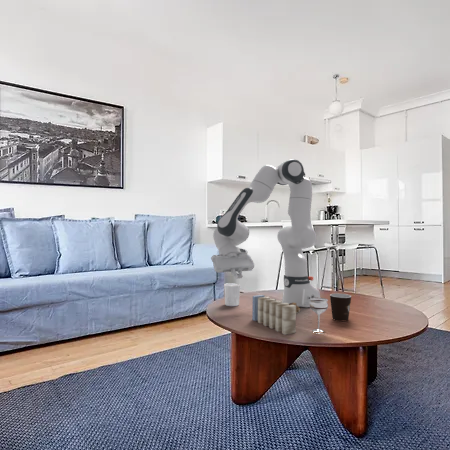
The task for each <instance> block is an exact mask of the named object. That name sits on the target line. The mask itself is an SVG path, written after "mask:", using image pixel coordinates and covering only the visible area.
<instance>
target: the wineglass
mask: <svg viewBox="0 0 450 450" xmlns="http://www.w3.org/2000/svg"><path fill="white" fill-rule="evenodd" d="M310 300H311V301H310V307H309V308H310V310H311V311H312V312H314V313H315V314H316V315H317V328H316V329H311V332H312V331H313V332H312V333H314V332H324V331H325V330H324V331H323V329H322V328H321V329H320V317H321V314H323V313H325V312H326V311H327V310H328V308H329V303H328V301H329V299H327V298H324V297H320V298H318V297H315V298H310Z"/></svg>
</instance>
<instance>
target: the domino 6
mask: <svg viewBox="0 0 450 450" xmlns="http://www.w3.org/2000/svg"><path fill="white" fill-rule="evenodd" d="M296 317H297V313H296V306H295V305H287V306H282V331H281V334H283V335H291V334H296V326H297V325H296V323H297V322H296V321H297V318H296Z"/></svg>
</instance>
